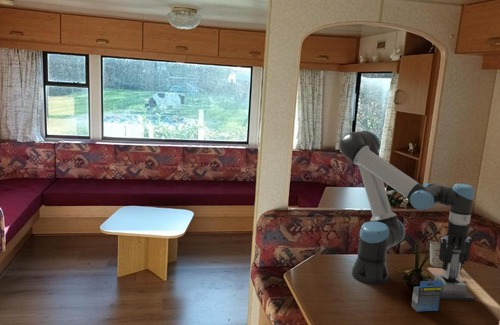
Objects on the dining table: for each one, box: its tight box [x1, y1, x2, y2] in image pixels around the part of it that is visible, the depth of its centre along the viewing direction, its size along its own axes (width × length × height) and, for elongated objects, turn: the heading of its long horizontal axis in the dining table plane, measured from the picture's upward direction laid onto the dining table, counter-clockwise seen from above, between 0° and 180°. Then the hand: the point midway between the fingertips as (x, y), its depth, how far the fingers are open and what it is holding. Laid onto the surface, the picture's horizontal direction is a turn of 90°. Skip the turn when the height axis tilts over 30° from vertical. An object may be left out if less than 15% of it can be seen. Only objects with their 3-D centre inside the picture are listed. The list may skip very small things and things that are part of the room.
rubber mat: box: [427, 267, 467, 283], centre depth 184 cm, size 12×12×1 cm
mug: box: [429, 241, 443, 268], centre depth 196 cm, size 8×13×10 cm, turn 145°
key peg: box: [445, 246, 462, 283], centre depth 167 cm, size 5×5×16 cm
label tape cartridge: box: [410, 280, 442, 312], centre depth 153 cm, size 9×4×12 cm, turn 99°
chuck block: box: [431, 274, 476, 301], centre depth 169 cm, size 14×14×5 cm
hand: (450, 277), depth 168 cm, fingers closed on key peg, 4 cm apart
